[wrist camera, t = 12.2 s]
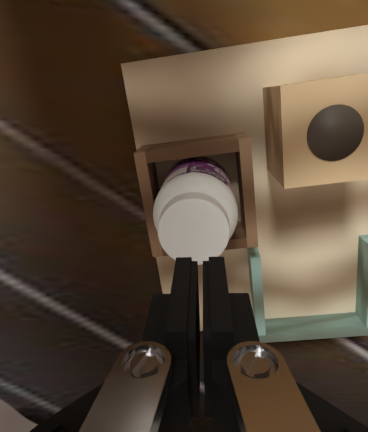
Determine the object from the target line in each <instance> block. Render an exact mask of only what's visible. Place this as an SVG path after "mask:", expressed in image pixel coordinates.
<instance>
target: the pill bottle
mask: <svg viewBox="0 0 368 432" xmlns="http://www.w3.org/2000/svg"><path fill="white" fill-rule="evenodd" d="M153 219H154V224H155V227H156V230H157V232H158V238H159V242H160V244H161V246H162V248H163V249H164V251H165V252H166V253H167V254H168V255H169V256H170V257H171V258H173V259H174V260H176V257H191V258H192V261H198V265H201V264H203V261H209V257H218V256H220V255H221V254H222V252H223V251H224V250H225V248H226V246H227V244H228V241H229V239H230V238H231V236H232V234H233V233H234V231H235V228H236V225H237V220H238V209H237V203H236V199H235V196H234V192H233V189H232V186H231V183H230V180H229V177H228V175H227V173H226V171H225V170H224V168H223V167H222V166H221V165H220V164H219V163H217V162H216V161H214V160H212V159H210V158H207V157H203V156H200V157H193V158H186V159H183V160H181V161H179V162H178V163H177V164H176V165H174V166H173V168H172V169H171V170H170V172H169V173H168V175H167V177H166V179H165V181H164V183H163V185H162V187H161V189H160V191H159V193H158V195H157V197H156V199H155V203H154V208H153Z"/></svg>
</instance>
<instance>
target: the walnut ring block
mask: <svg viewBox="0 0 368 432" xmlns="http://www.w3.org/2000/svg"><path fill="white" fill-rule="evenodd" d="M232 152H236V161H237V173H238V185H239V197H240V209H241V221H237V225H236V228H235V231H234V233H233V234H232V236H231V238H230V239H229V241H228V244H227V246H226V248H225V250H230V249H240V248H251V247H258V236H257V221H256V206H255V191H254V176H253V161H252V147H251V138H250V137H249V136H248V135H247V134H246V133H245V132H242V133H235V134H227V135H219V136H212V137H204V138H197V139H189V140H181V141H174V142H166V143H159V144H151V145H143V146H141V147H140V148H139V149H138V150H136V151H135V152H134V153H133V154H134V159H135V165H136V170H137V176H138V181H139V186H140V192H141V197H142V202H143V208H144V213H145V219H146V224H147V229H148V235H149V240H150V245H151V251H152V256H153V257H160V256H169V255H168V254H167V253H166V252H165V251H164V249H163V248H162V246H161V244H160V242H159V238H158V232H157V230H156V227H155V224H154V219H153V208H154V203H155V199H156V197H157V195H158V193H159V191H160V189H159V183H158V177H157V171H156V165H155V162H161V161H169V160H177V159H185V158H193V157H200V156H208V155H216V154H224V153H232Z"/></svg>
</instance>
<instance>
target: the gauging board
mask: <svg viewBox="0 0 368 432" xmlns="http://www.w3.org/2000/svg"><path fill="white" fill-rule="evenodd" d="M121 68H122V74H123V79H124V85H125V90H126V96H127V101H128V107H129V112H130V118H131V123H132V128H133V134H134V139H135V145H136V150H138V149H139V148H140V147H141V146H143V145H151V144H159V143H166V142H174V141H181V140H189V139H197V138H204V137H212V136H219V135H227V134H235V133H242V132H245V133H246V134H247V135H248V136H249V137H250V138H251V147H252V161H253V176H254V191H255V206H256V221H257V236H258V247H251V248H240V249H230V250H224V251H223V252H222V254H221V255H220V256H218V257H224V260H225V268H226V276H227V284H228V291H229V293H249V296H250V301H251V305H252V310H253V314H254V318H255V323H256V327H257V331H258V336H259V340H260V342H262V343H270V342H284V341H297V340H311V339H325V338H339V337H353V336H367V335H368V179H366V180H357V181H349V182H340V183H331V184H323V185H314V186H306V187H297V188H288V189H284V188H283V187H282V186H281V185H280V183H279V182H278V181H277V180H276V179H275V177H274V176H273V175H272V174H271V173H270V171H269V170H268V169H267V160H266V142H265V124H264V105H263V87H270V86H277V85H284V84H291V83H298V82H304V81H311V80H318V79H325V78H332V77H339V76H346V75H353V74H362V73H368V25H364V26H358V27H351V28H345V29H339V30H332V31H326V32H319V33H313V34H307V35H300V36H294V37H288V38H281V39H275V40H268V41H262V42H256V43H249V44H243V45H237V46H230V47H224V48H217V49H211V50H205V51H198V52H192V53H185V54H179V55H173V56H166V57H160V58H154V59H147V60H141V61H134V62H128V63H122V64H121ZM203 157H207V158H210V159H212V160H214V161H216V162H217V163H219V164H220V165H221V166H222V167H223V168H224V170H225V171H226V173H227V175H228V177H229V180H230V183H231V186H232V189H233V192H234V196H235V199H236V203H237V209H238V220H237V221H241V209H240V197H239V185H238V173H237V161H236V152H232V153H224V154H216V155H208V156H203ZM185 159H186V158H185ZM181 160H183V159H177V160H169V161H161V162H155V165H156V171H157V177H158V183H159V189H161V187H162V185H163V183H164V181H165V179H166V177H167V175H168V173H169V172H170V170H171V169H172V168H173V166H174V165H176V164H177V163H178V162H179V161H181ZM156 260H157V265H158V271H159V276H160V282H161V287H162V293H163V294H170V293H171V286H172V280H173V274H174V267H175V261H176V260H174V259H173V258H171V257H170V256H160V257H156ZM198 285H199V312H200V331H203V264H201V265H198Z"/></svg>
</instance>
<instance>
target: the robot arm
mask: <svg viewBox="0 0 368 432" xmlns="http://www.w3.org/2000/svg"><path fill="white" fill-rule="evenodd" d="M203 354H204V383H205V412H206V420H213V422H214V432H368V427H366V426H365V425H363V424H361V423H360V422H358V421H357V420H355V419H354V418H352V417H350V416H349V415H347V414H346V413H344V412H343V411H341V410H339V409H338V408H336V407H335V406H333V405H332V404H330V403H328V402H327V401H325V400H324V399H322V398H321V397H319V396H317V395H316V394H314V393H313V392H311V391H310V390H308V389H306V388H305V387H303V386H302V385H300V384H299V383H297V382H295V380H294V378H293V376H292V374H291V372H290V370H289V368H288V366H287V364H286V362H285V360H284V358H283V357H282V355H281V354H280V353H279V351H277V350H276V349H275V348H273V347H272V346H270V345H268V344H266V343H262V342H260V340H259V336H258V331H257V327H256V323H255V318H254V314H253V310H252V305H251V301H250V296H249V293H229V291H228V284H227V276H226V268H225V260H224V257H209V261H203ZM199 396H200V312H199V285H198V261H192V258H191V257H176V261H175V267H174V274H173V280H172V286H171V293H170V294H153V297H152V301H151V305H150V309H149V313H148V317H147V322H146V326H145V330H144V334H143V338H142V342H139V343H135V344H133V345H130V346H128V347H127V348H126V349H124V350H123V351H122V352H121V353H120V354H119V356H118V357H117V359H116V361H115V363H114V365H113V367H112V369H111V370H110V372H109V374H108V376H107V378H106V380H105V382H104V383H103V384H101V385H99V386H98V387H96V388H95V389H93V390H92V391H90V392H89V393H87V394H85V395H84V396H82V397H81V398H79V399H78V400H76V401H74V402H73V403H71V404H70V405H68V406H67V407H65V408H64V409H62V410H60V411H59V412H57V413H56V414H54V415H53V416H51V417H50V418H48V419H46V420H45V421H43V422H42V423H40V424H39V425H37V426H36V427H35V428H34V429H32V430H31V431H30V432H192V419H193V420H199Z"/></svg>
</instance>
